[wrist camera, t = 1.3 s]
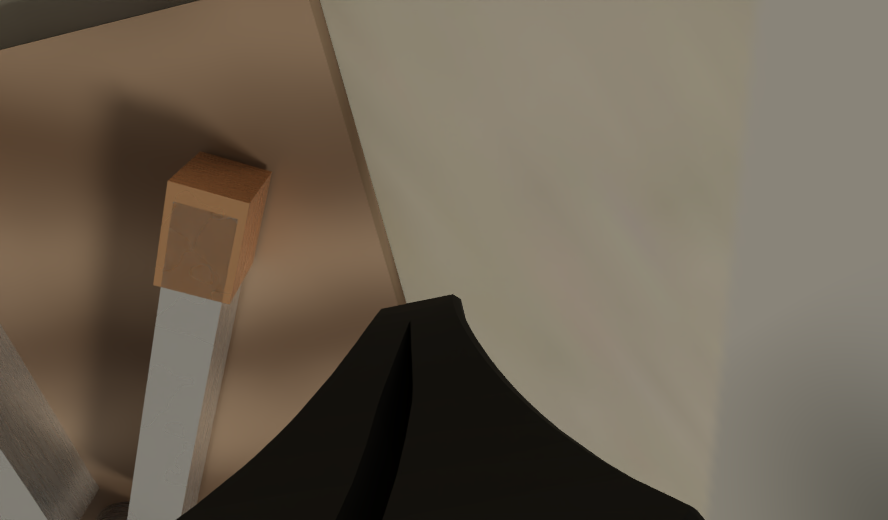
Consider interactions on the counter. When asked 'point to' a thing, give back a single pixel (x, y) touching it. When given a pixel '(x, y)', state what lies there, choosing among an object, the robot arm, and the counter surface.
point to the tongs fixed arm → (39, 453)
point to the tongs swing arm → (193, 325)
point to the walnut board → (141, 210)
